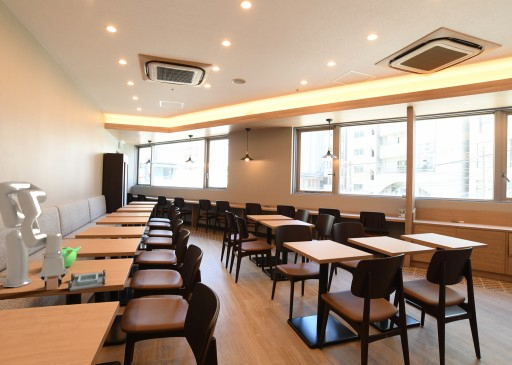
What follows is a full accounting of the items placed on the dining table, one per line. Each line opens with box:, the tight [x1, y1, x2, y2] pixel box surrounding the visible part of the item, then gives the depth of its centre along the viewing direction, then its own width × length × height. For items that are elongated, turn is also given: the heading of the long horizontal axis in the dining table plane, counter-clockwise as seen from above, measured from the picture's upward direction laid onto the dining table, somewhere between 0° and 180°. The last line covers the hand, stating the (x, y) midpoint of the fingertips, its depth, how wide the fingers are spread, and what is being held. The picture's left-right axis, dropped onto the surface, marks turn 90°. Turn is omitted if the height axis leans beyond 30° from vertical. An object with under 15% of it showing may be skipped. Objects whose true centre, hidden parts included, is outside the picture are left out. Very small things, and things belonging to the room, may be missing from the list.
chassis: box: [67, 269, 106, 292], centre depth 163 cm, size 18×21×4 cm
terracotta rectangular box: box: [46, 275, 59, 291], centre depth 155 cm, size 5×7×6 cm
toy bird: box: [62, 246, 82, 268], centre depth 190 cm, size 18×17×15 cm
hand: (53, 286), depth 155 cm, fingers closed on terracotta rectangular box, 5 cm apart
